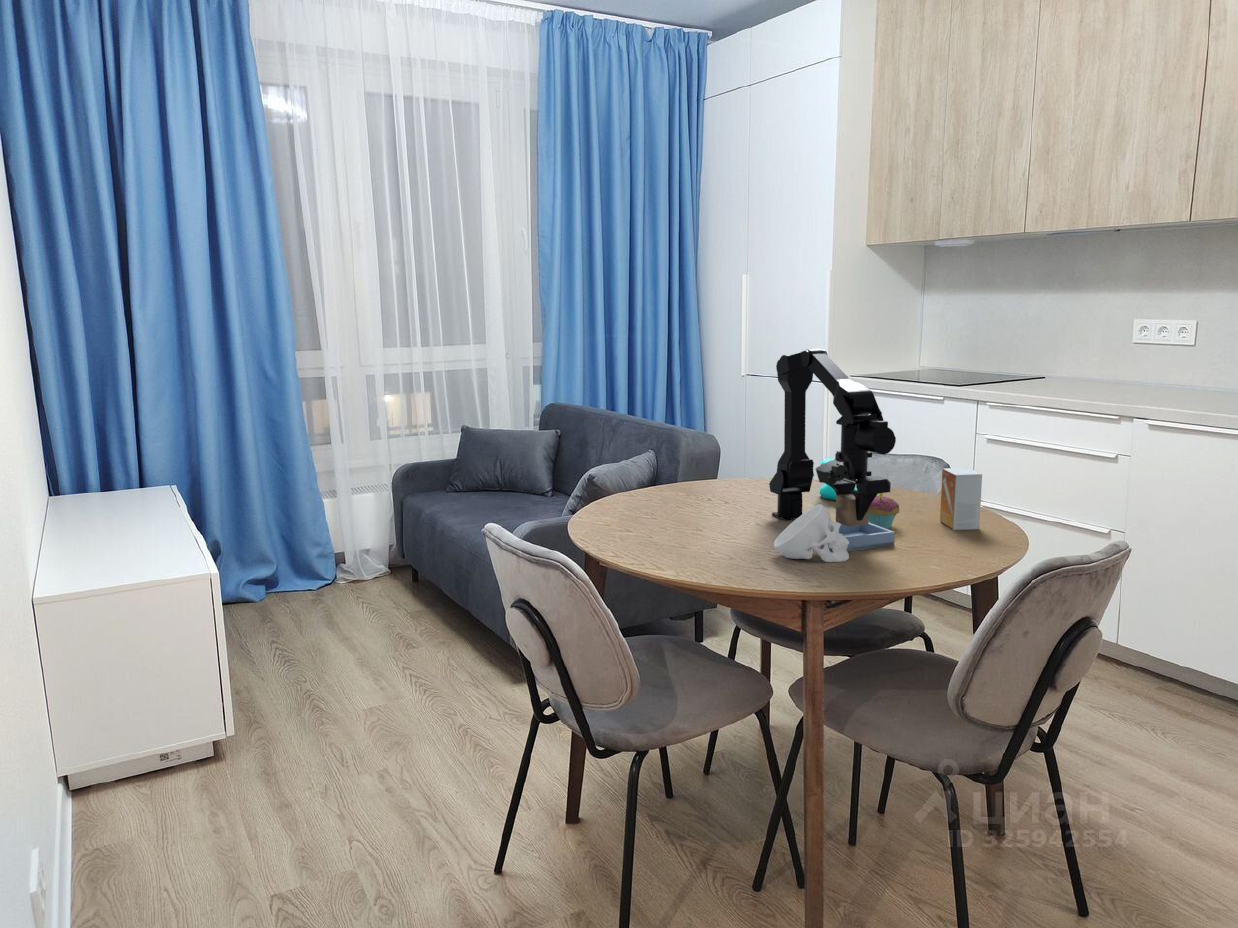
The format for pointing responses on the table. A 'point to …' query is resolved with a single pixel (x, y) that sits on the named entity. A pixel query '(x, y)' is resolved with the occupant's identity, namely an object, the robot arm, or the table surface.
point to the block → (848, 511)
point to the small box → (961, 498)
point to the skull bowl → (813, 537)
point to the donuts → (828, 487)
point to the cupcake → (883, 511)
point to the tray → (867, 536)
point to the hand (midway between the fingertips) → (852, 517)
